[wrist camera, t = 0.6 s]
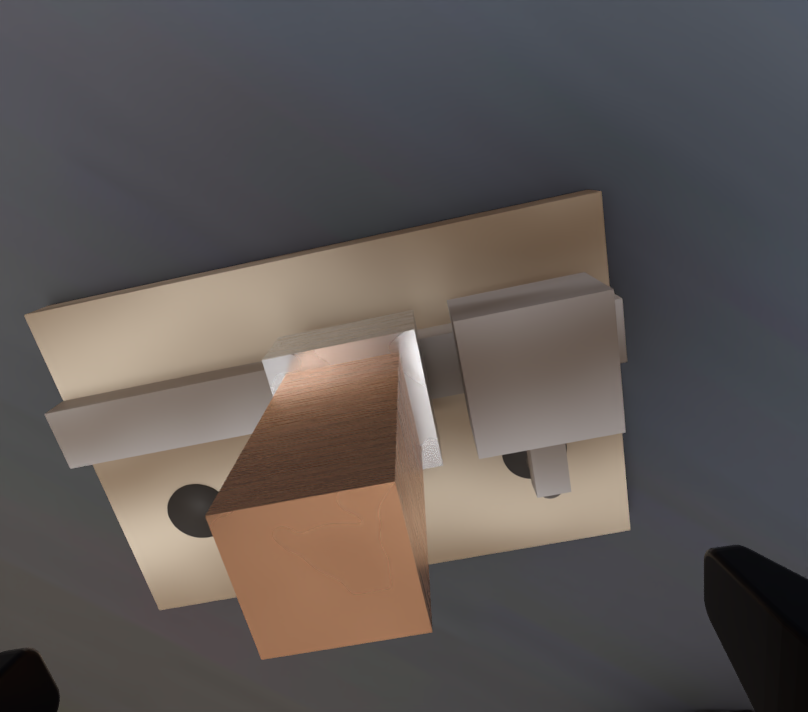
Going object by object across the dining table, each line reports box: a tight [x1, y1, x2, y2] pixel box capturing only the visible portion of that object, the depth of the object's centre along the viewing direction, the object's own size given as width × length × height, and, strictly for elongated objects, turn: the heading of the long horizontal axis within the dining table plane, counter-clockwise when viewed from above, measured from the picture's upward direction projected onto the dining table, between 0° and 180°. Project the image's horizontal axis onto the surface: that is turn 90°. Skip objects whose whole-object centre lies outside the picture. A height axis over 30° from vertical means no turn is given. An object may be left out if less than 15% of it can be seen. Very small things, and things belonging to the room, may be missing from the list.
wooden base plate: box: [24, 190, 630, 610], centre depth 17 cm, size 12×18×4 cm, turn 102°
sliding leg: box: [205, 310, 443, 660], centre depth 13 cm, size 6×4×9 cm, turn 12°
